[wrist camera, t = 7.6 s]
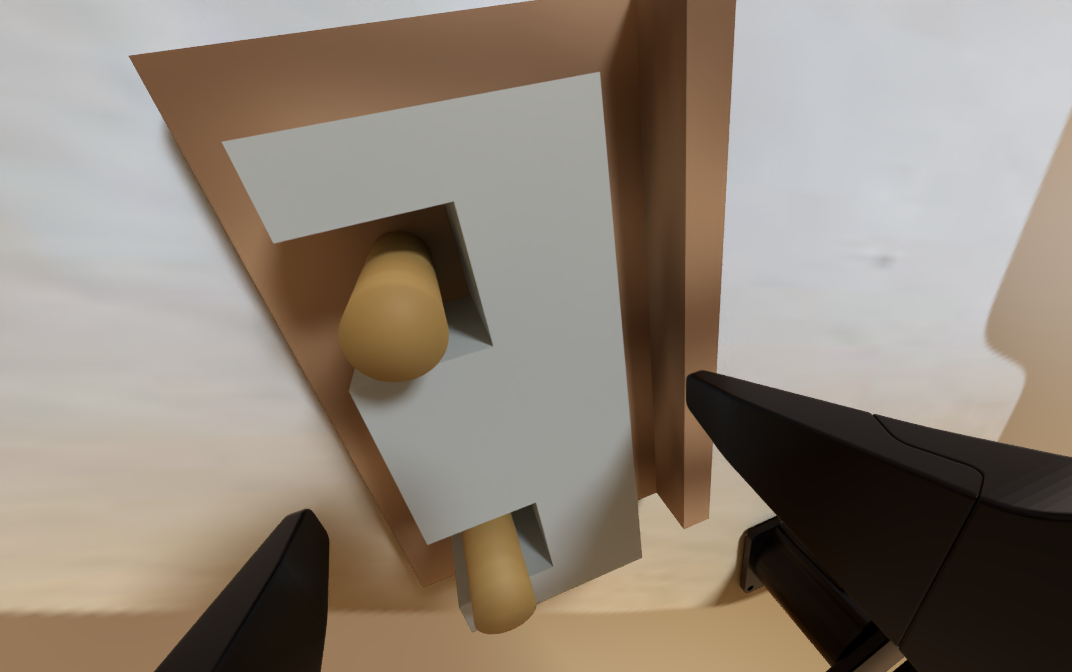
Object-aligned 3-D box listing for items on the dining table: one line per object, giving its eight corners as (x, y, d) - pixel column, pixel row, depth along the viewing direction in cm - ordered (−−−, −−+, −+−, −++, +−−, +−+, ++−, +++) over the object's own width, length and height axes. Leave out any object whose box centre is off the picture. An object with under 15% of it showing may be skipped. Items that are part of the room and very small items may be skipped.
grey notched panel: (598, 482, 16) (641, 557, 13) (459, 536, 15) (472, 632, 12) (539, 99, 10) (600, 71, 7) (288, 147, 9) (221, 141, 6)
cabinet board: (661, 461, 19) (766, 588, 13) (422, 554, 17) (428, 752, 11) (645, 1, 11) (906, -169, 5) (170, 71, 9) (-286, -94, 3)
